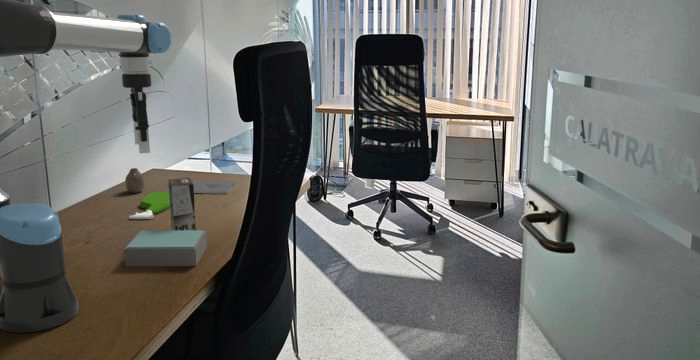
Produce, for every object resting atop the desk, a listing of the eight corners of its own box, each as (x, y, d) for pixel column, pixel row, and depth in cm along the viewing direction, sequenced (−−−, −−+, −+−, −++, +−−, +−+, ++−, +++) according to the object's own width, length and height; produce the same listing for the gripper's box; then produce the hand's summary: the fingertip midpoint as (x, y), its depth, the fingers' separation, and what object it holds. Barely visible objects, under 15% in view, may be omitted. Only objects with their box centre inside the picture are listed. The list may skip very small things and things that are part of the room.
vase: (121, 193, 219) (119, 170, 217) (133, 188, 225) (131, 166, 223) (137, 194, 217) (136, 171, 215) (149, 190, 223) (147, 167, 221)
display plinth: (196, 266, 152) (195, 247, 151) (125, 266, 151) (123, 248, 150) (207, 246, 165) (206, 229, 164) (141, 247, 165) (140, 230, 164)
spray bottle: (179, 199, 212) (159, 222, 189) (148, 199, 212) (124, 222, 188) (178, 192, 212) (158, 213, 188) (148, 191, 211) (124, 213, 188)
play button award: (185, 180, 234) (235, 180, 235) (185, 184, 235) (235, 184, 235) (173, 191, 219) (227, 191, 219) (173, 195, 219) (227, 195, 219)
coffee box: (197, 237, 173) (194, 184, 169) (174, 240, 170) (170, 186, 167) (192, 228, 181) (190, 176, 177) (171, 230, 179) (167, 178, 175)
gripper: (155, 75, 154) (161, 155, 159) (145, 69, 176) (151, 139, 181) (124, 76, 151) (131, 157, 156) (118, 70, 173) (125, 141, 178)
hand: (142, 148), depth 168 cm, fingers open, 13 cm apart
